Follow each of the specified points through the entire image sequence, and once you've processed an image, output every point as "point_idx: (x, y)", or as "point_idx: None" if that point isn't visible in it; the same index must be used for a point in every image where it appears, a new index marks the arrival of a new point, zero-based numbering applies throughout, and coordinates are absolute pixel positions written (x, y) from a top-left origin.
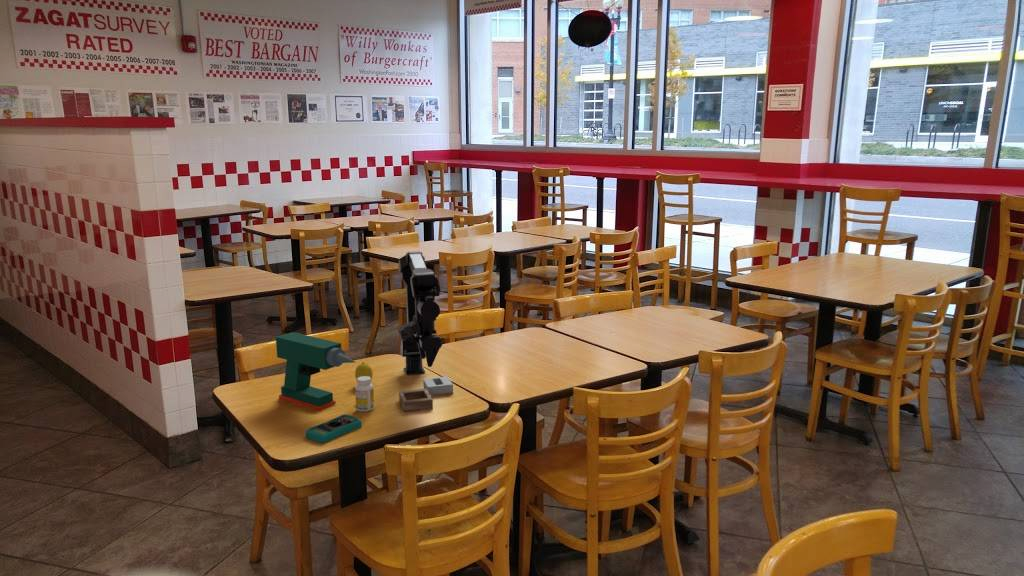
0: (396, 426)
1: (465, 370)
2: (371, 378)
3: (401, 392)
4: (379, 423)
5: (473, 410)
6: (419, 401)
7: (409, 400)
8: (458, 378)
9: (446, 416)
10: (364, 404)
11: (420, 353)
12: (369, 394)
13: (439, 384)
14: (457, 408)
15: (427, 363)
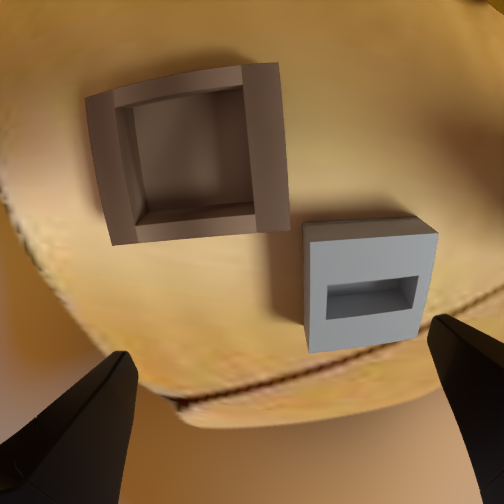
0: (3, 90)
1: None
2: (499, 7)
3: (253, 75)
4: (35, 24)
5: None
6: (98, 177)
7: (109, 123)
8: None
9: (65, 268)
10: None
11: (468, 342)
12: None
13: (401, 289)
14: (135, 316)
15: (89, 372)
